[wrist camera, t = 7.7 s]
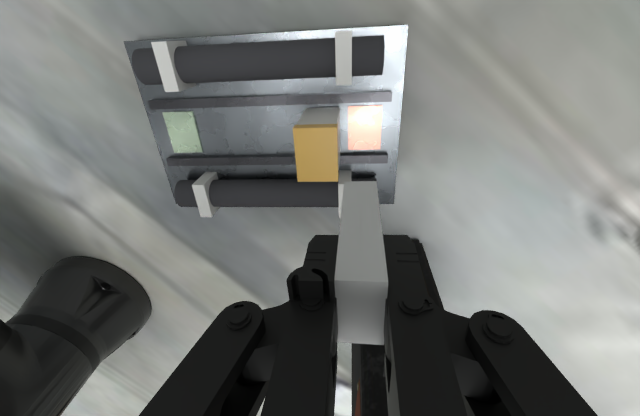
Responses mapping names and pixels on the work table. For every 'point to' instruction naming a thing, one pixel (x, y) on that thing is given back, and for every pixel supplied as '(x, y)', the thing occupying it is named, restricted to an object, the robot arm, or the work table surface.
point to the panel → (278, 116)
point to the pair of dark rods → (251, 65)
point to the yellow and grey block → (317, 145)
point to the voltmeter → (380, 359)
